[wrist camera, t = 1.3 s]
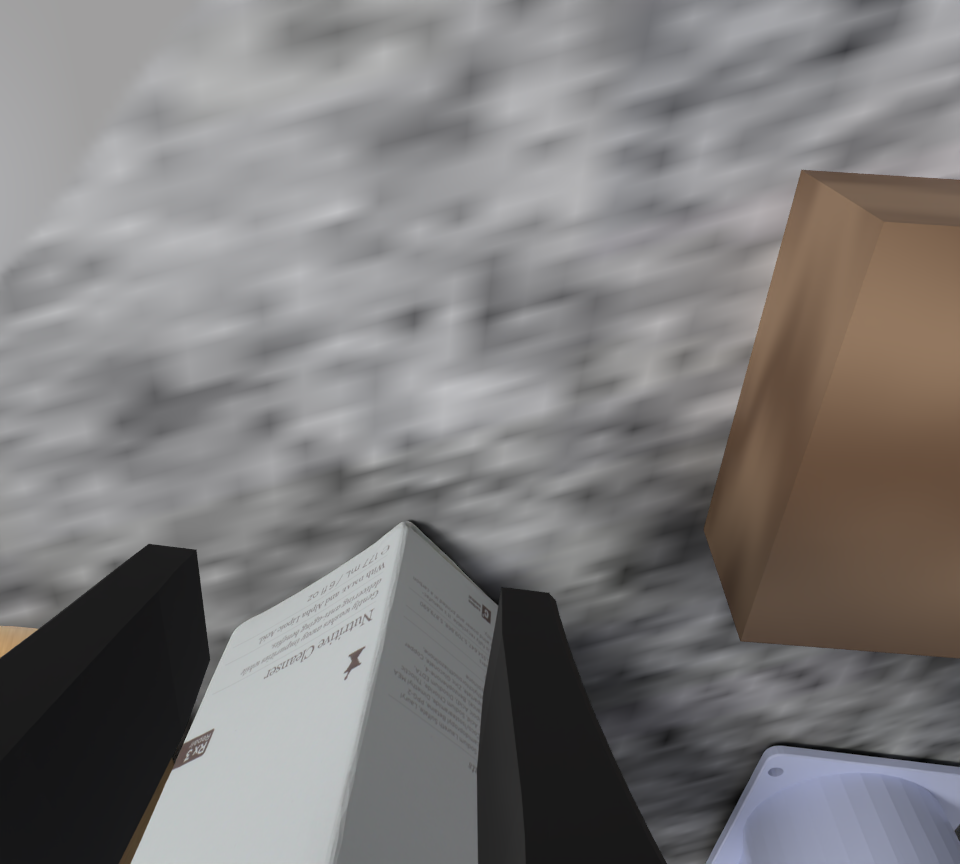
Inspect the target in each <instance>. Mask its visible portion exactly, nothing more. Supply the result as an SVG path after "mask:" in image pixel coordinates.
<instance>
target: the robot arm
mask: <svg viewBox="0 0 960 864" xmlns="http://www.w3.org/2000/svg"><path fill="white" fill-rule="evenodd" d="M209 661H210V656H209V648H208V640H207V632H206V624H205V616H204V608H203V600H202V592H201V584H200V576H199V568H198V560H197V552H196V550H194V549H185V548H177V547H169V546H161V545H153V544H148V545H147V546H145V547H144V548H143V549H141V550H140V551H139V552H137V553H136V554H135V555H134V556H132V557H131V558H130V559H128V560H127V561H126V562H124V563H123V564H122V565H120V566H119V567H118V568H116V569H115V570H114V571H113V572H111V573H110V574H109V575H107V576H106V577H105V578H104V579H102V580H101V581H100V582H98V583H97V584H96V585H95V586H93V587H92V588H91V589H90V590H88V591H87V592H86V593H84V594H83V595H82V596H81V597H79V598H78V599H77V600H75V601H74V602H73V603H72V604H70V605H69V606H68V607H66V608H65V609H64V610H63V611H61V612H60V613H59V614H57V615H56V616H55V617H54V618H52V619H51V620H50V621H48V622H47V623H46V624H45V625H43V626H42V627H41V628H39V629H38V630H37V631H35V632H34V633H33V634H31V635H30V636H29V637H27V638H26V639H25V640H23V641H22V642H21V643H19V644H18V645H17V646H15V647H14V648H13V649H11V650H10V651H9V652H7V653H6V654H5V655H3V656H2V657H1V658H0V864H119V862H120V860H121V858H122V856H123V854H124V852H125V850H126V848H127V846H128V844H129V842H130V840H131V838H132V836H133V834H134V832H135V830H136V828H137V826H138V824H139V822H140V820H141V819H142V817H143V815H144V813H145V811H146V809H147V807H148V805H149V803H150V801H151V799H152V797H153V795H154V793H155V791H156V789H157V786H158V784H159V782H160V780H161V778H162V776H163V774H164V772H165V770H166V768H167V766H168V764H169V762H170V760H171V758H172V756H173V754H174V752H175V750H176V748H177V746H178V744H179V742H180V740H181V738H182V735H183V733H184V730H185V728H186V725H187V722H188V720H189V717H190V714H191V712H192V709H193V706H194V704H195V701H196V698H197V695H198V692H199V690H200V687H201V684H202V681H203V678H204V675H205V672H206V670H207V667H208V664H209ZM959 824H960V767H955V766H947V765H939V764H930V763H922V762H914V761H906V760H897V759H889V758H881V757H872V756H864V755H856V754H847V753H839V752H831V751H822V750H814V749H806V748H797V747H789V746H772V747H770V748H768V749H766V751H765V752H764V753H763V755H762V757H761V759H760V760H759V762H758V764H757V766H756V768H755V770H754V772H753V774H752V776H751V778H750V780H749V781H748V783H747V785H746V787H745V789H744V791H743V793H742V795H741V797H740V799H739V801H738V803H737V804H736V806H735V808H734V810H733V812H732V814H731V816H730V818H729V820H728V822H727V824H726V825H725V827H724V829H723V831H722V833H721V835H720V837H719V839H718V841H717V843H716V845H715V847H714V848H713V850H712V852H711V854H710V856H709V858H708V860H707V862H706V864H960V841H959V839H958V837H957V835H956V833H955V831H954V830H955V829H956V828H957V827H958V826H959ZM477 832H478V864H667V863H666V861H665V859H664V858H663V856H662V854H661V852H660V850H659V848H658V846H657V844H656V842H655V841H654V839H653V837H652V835H651V833H650V831H649V829H648V827H647V825H646V823H645V821H644V819H643V817H642V815H641V813H640V811H639V809H638V807H637V805H636V803H635V801H634V799H633V797H632V795H631V793H630V791H629V789H628V787H627V785H626V782H625V780H624V778H623V776H622V774H621V772H620V770H619V768H618V765H617V763H616V761H615V759H614V757H613V754H612V752H611V750H610V747H609V745H608V743H607V741H606V738H605V736H604V734H603V731H602V729H601V727H600V725H599V722H598V720H597V718H596V715H595V713H594V711H593V708H592V706H591V703H590V701H589V698H588V696H587V694H586V691H585V688H584V686H583V683H582V681H581V678H580V675H579V673H578V670H577V667H576V665H575V662H574V659H573V656H572V653H571V650H570V648H569V645H568V642H567V639H566V636H565V632H564V629H563V626H562V622H561V619H560V616H559V612H558V608H557V604H556V601H555V599H554V598H553V597H552V596H551V595H550V594H549V593H545V592H537V591H528V590H520V589H512V588H504V587H502V588H501V594H500V599H499V605H498V611H497V616H496V622H495V628H494V634H493V639H492V645H491V651H490V656H489V662H488V668H487V674H486V679H485V685H484V691H483V701H482V713H481V725H480V737H479V750H478V762H477Z"/></svg>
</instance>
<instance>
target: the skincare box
mask: <svg viewBox="0 0 960 864" xmlns="http://www.w3.org/2000/svg"><path fill="white" fill-rule="evenodd" d="M497 611H498V605H497V604H496V603H495V602H494V601H493V600H491V599H490V598H489V597H488V596H487V595H486V594H485V593H484V592H483V591H482V590H481V589H480V588H479V587H478V586H477V585H476V584H475V583H474V582H473V581H472V580H471V579H470V578H469V577H468V576H467V575H466V574H464V573H463V571H462V570H461V569H460V568H459V567H458V566H457V565H456V564H455V563H454V562H453V561H452V560H451V559H450V558H449V557H448V556H447V555H446V554H445V553H443V552H442V551H441V550H440V549H439V548H438V547H437V546H436V545H435V544H434V543H433V542H432V541H431V540H430V539H429V538H428V537H427V536H425V535H424V534H423V533H422V532H421V531H420V530H419V529H418V528H417V527H416V526H415V525H414V524H413V523H411V522H409V521H406V522H401V523H400V524H398V525H397V526H396V527H395V528H393V529H392V530H391V531H390V532H388V533H387V534H386V535H384V536H383V537H382V538H381V539H380V540H378V541H377V542H376V543H374V544H373V545H372V546H370V547H369V548H367V549H366V550H364V551H363V552H361V553H360V554H358V555H357V556H355V557H354V558H352V559H351V560H349V561H348V562H346V563H344V564H343V565H341V566H340V567H338V568H337V569H335V570H334V571H332V572H331V573H329V574H327V575H326V576H324V577H323V578H321V579H319V580H318V581H316V582H315V583H313V584H311V585H310V586H308V587H306V588H305V589H303V590H301V591H300V592H298V593H297V594H295V595H293V596H291V597H290V598H288V599H286V600H284V601H283V602H281V603H279V604H278V605H276V606H274V607H272V608H270V609H269V610H267V611H265V612H263V613H261V614H259V615H257V616H255V617H253V618H251V619H249V620H247V621H246V622H244V623H242V624H241V625H240V626H238V627H237V628H236V630H235V631H234V632H233V634H232V636H231V638H230V640H229V642H228V644H227V647H226V649H225V651H224V653H223V655H222V658H221V660H220V662H219V664H218V667H217V669H216V671H215V673H214V675H213V678H212V680H211V682H210V684H209V687H208V689H207V691H206V694H205V696H204V698H203V701H202V703H201V705H200V708H199V710H198V712H197V714H196V716H195V719H194V721H193V723H192V725H191V728H190V730H189V732H188V735H187V737H186V739H185V741H184V744H183V746H182V748H181V750H180V752H179V755H178V757H177V759H176V762H175V764H174V767H173V769H172V771H171V773H170V775H169V778H168V780H167V782H166V784H165V786H164V789H163V791H162V793H161V796H160V798H159V800H158V802H157V805H156V807H155V809H154V812H153V814H152V816H151V819H150V821H149V823H148V825H147V828H146V830H145V832H144V835H143V837H142V839H141V842H140V844H139V846H138V848H137V850H136V853H135V855H134V857H133V859H132V861H131V864H478V832H477V762H478V750H479V737H480V725H481V713H482V701H483V691H484V685H485V679H486V674H487V668H488V662H489V656H490V651H491V645H492V639H493V634H494V628H495V622H496V616H497Z"/></svg>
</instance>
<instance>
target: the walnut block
mask: <svg viewBox="0 0 960 864" xmlns="http://www.w3.org/2000/svg"><path fill="white" fill-rule="evenodd" d="M704 532H705V535H706V538H707V541H708V544H709V548H710V551H711V554H712V557H713V560H714V563H715V566H716V569H717V572H718V575H719V578H720V581H721V584H722V587H723V590H724V593H725V596H726V599H727V602H728V605H729V608H730V611H731V614H732V617H733V620H734V623H735V626H736V629H737V632H738V635H739V638H740V641H744V642H757V643H770V644H783V645H795V646H808V647H821V648H834V649H846V650H859V651H872V652H885V653H897V654H910V655H923V656H936V657H948V658H960V180H954V179H938V178H922V177H906V176H890V175H874V174H858V173H842V172H826V171H810V170H801V174H800V177H799V181H798V185H797V188H796V192H795V196H794V199H793V203H792V207H791V210H790V214H789V218H788V221H787V225H786V229H785V232H784V236H783V240H782V243H781V247H780V251H779V254H778V258H777V262H776V265H775V269H774V273H773V276H772V280H771V284H770V287H769V291H768V295H767V298H766V302H765V306H764V309H763V313H762V317H761V320H760V324H759V328H758V331H757V335H756V339H755V343H754V346H753V350H752V354H751V357H750V361H749V365H748V368H747V372H746V376H745V379H744V383H743V387H742V390H741V394H740V398H739V401H738V405H737V409H736V412H735V416H734V420H733V423H732V427H731V431H730V434H729V438H728V442H727V445H726V449H725V453H724V456H723V460H722V464H721V467H720V471H719V475H718V478H717V482H716V486H715V489H714V493H713V497H712V500H711V504H710V508H709V511H708V515H707V519H706V522H705V526H704Z"/></svg>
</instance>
